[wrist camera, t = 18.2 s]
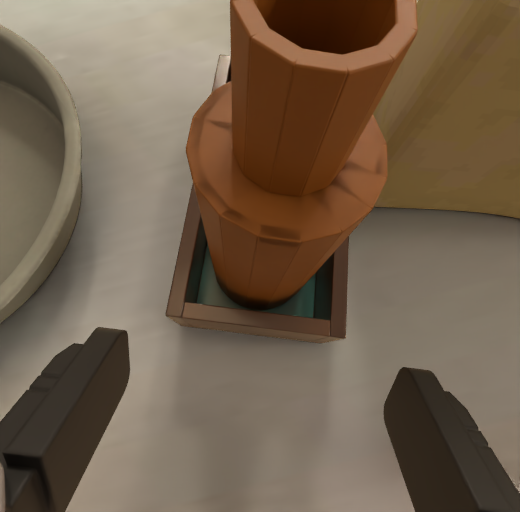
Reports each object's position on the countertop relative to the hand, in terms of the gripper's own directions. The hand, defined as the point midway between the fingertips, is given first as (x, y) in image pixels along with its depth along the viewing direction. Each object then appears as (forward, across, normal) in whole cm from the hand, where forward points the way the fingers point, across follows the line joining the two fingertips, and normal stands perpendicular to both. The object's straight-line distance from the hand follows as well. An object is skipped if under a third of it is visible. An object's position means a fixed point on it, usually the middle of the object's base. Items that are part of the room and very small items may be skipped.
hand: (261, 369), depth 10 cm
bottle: (+11, 0, +2) cm, 11 cm away
